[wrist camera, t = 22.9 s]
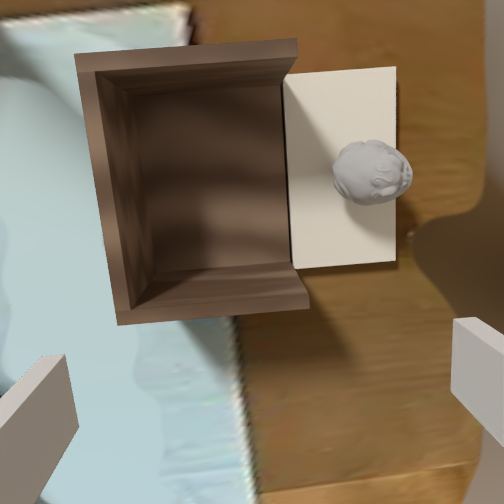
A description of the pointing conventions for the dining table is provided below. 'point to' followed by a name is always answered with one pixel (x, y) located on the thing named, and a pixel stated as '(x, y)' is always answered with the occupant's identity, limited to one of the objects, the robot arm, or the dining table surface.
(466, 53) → the dining table surface
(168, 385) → the dining table surface
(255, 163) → the crate
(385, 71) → the panel
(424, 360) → the dining table surface
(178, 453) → the dining table surface
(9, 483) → the robot arm
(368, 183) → the white sculpted head
